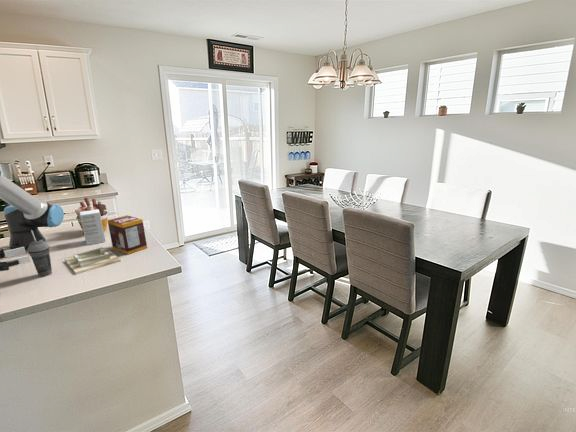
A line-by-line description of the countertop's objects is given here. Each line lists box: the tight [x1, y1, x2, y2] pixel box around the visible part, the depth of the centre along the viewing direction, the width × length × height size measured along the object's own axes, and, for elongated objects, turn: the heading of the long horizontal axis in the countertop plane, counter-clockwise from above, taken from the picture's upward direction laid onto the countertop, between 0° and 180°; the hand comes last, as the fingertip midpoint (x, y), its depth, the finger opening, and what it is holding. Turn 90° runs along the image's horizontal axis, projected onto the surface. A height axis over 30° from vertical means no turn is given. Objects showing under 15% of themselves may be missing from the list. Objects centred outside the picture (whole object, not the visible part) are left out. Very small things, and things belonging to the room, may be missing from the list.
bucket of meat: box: [74, 197, 109, 233], centre depth 186 cm, size 20×16×20 cm
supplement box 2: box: [107, 215, 148, 255], centre depth 158 cm, size 10×15×16 cm
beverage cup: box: [27, 230, 53, 278], centre depth 131 cm, size 7×7×20 cm
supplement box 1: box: [80, 209, 107, 246], centre depth 170 cm, size 10×9×17 cm
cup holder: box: [64, 247, 121, 275], centre depth 145 cm, size 20×18×4 cm
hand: (27, 254), depth 127 cm, fingers open, 13 cm apart
